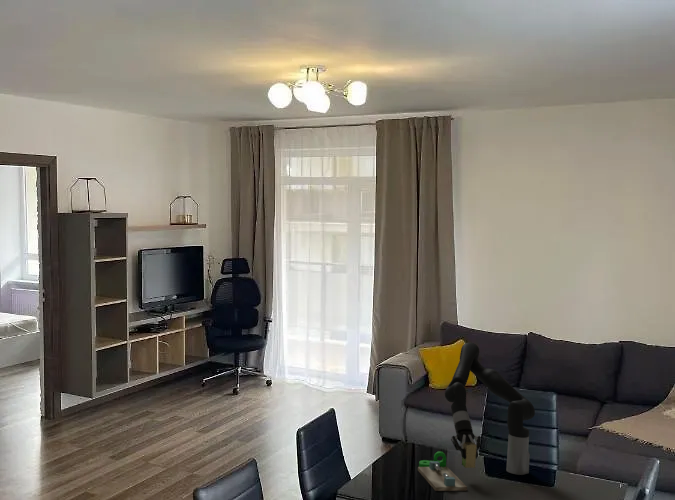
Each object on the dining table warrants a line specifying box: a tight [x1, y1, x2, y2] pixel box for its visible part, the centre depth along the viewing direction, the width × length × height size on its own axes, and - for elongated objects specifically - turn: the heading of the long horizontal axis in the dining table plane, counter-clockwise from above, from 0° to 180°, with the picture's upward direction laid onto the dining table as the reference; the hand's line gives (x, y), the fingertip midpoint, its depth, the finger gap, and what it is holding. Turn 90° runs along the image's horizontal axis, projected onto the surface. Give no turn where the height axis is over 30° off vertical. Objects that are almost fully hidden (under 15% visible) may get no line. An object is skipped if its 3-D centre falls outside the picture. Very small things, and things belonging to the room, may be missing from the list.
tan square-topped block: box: [461, 442, 477, 469], centre depth 299 cm, size 4×4×10 cm
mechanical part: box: [418, 450, 447, 467], centre depth 315 cm, size 12×6×8 cm, turn 87°
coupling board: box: [417, 460, 468, 492], centre depth 298 cm, size 14×25×4 cm, turn 10°
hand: (470, 458), depth 297 cm, fingers closed on tan square-topped block, 4 cm apart
